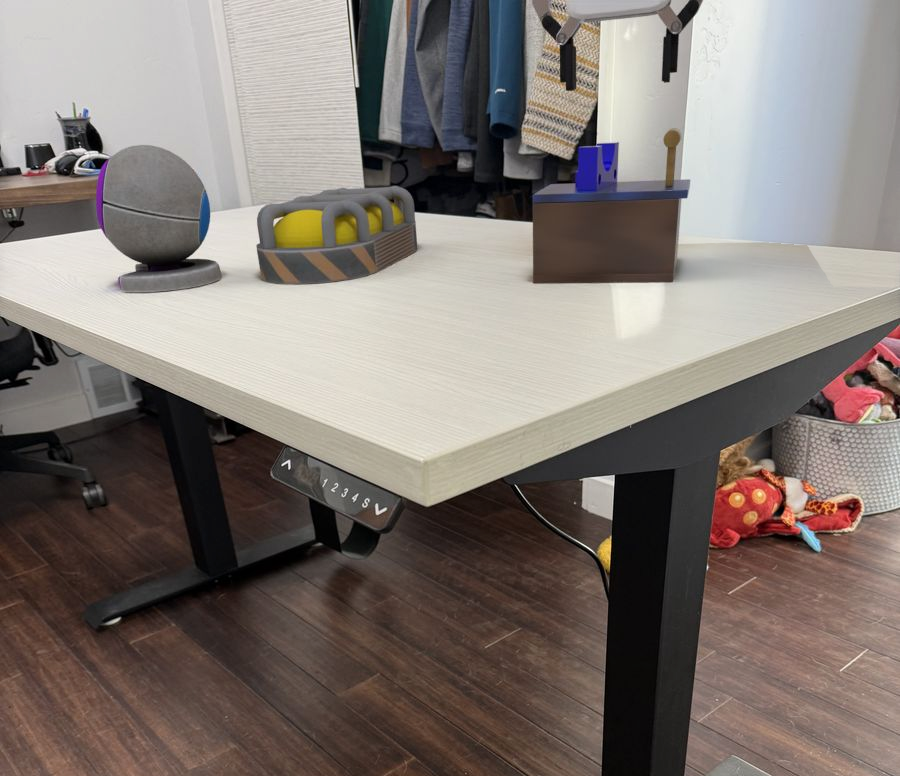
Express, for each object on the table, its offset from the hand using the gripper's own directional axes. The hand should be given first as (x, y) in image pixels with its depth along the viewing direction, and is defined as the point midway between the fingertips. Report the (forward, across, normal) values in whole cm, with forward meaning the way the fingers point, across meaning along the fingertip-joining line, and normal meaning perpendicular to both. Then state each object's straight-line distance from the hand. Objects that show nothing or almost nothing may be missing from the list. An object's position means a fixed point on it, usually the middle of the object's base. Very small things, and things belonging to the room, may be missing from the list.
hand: (617, 86), depth 88 cm
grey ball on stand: (+17, -54, -5) cm, 56 cm away
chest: (+18, 0, -2) cm, 18 cm away
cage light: (+17, -36, +8) cm, 40 cm away
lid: (+10, 0, -2) cm, 10 cm away
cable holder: (+9, -2, -2) cm, 10 cm away
